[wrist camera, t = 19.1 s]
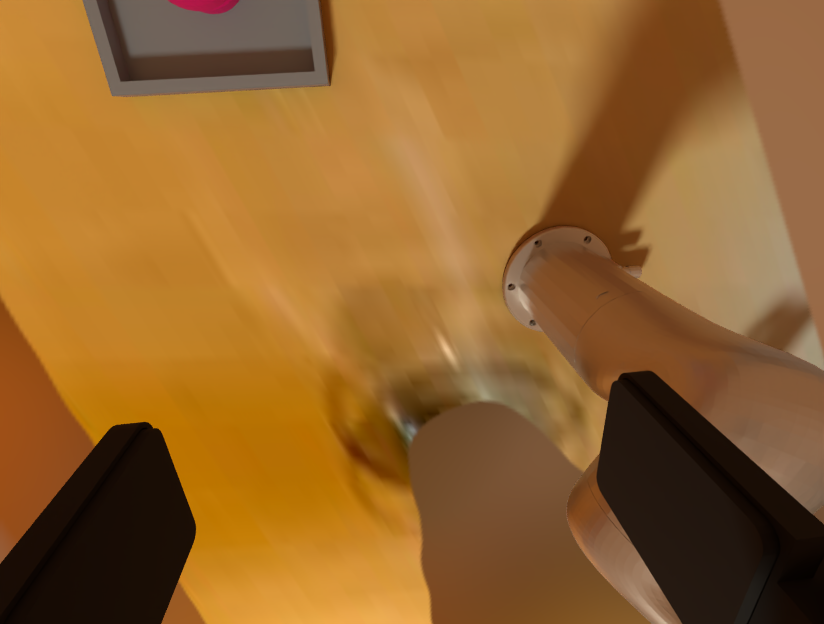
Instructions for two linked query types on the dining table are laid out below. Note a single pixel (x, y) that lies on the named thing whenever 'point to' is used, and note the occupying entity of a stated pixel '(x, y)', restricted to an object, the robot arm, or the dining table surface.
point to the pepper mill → (206, 5)
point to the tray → (208, 46)
